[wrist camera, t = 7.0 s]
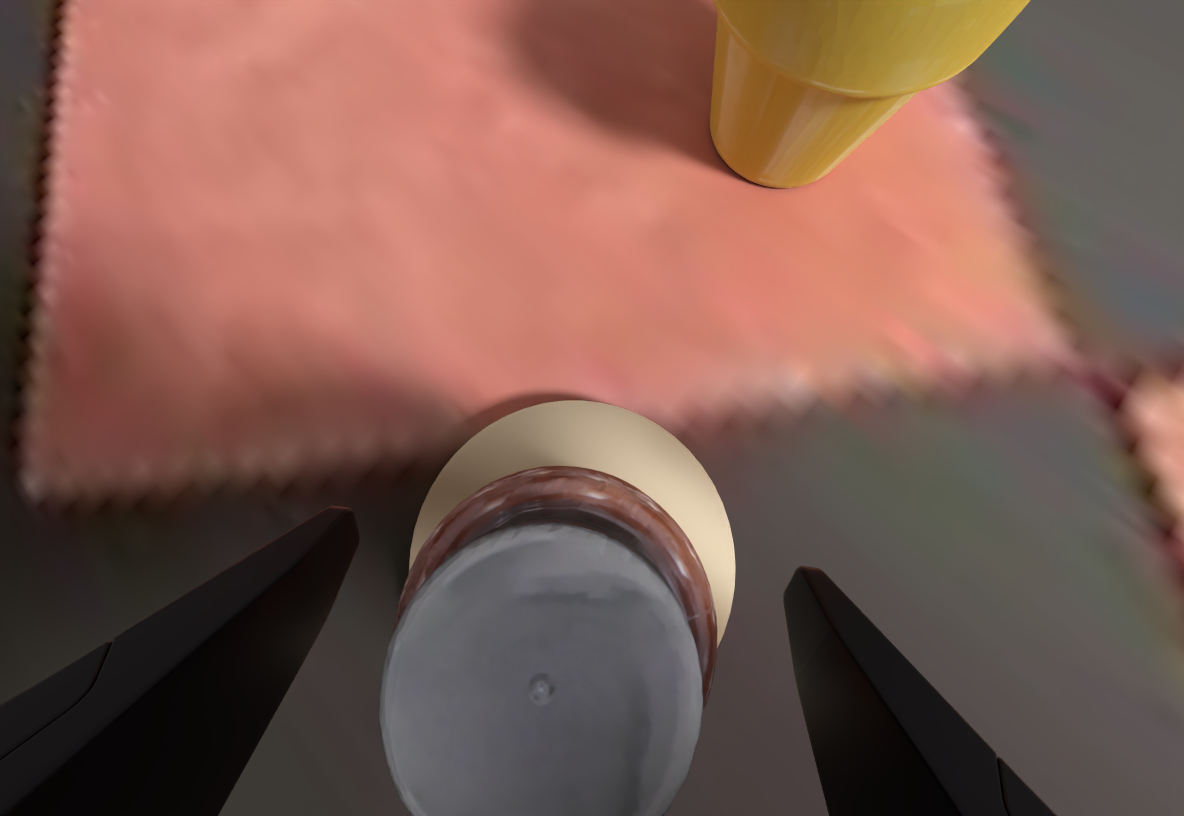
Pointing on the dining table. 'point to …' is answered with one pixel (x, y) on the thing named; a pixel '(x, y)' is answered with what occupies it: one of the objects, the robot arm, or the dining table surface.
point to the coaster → (604, 446)
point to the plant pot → (831, 74)
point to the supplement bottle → (549, 654)
